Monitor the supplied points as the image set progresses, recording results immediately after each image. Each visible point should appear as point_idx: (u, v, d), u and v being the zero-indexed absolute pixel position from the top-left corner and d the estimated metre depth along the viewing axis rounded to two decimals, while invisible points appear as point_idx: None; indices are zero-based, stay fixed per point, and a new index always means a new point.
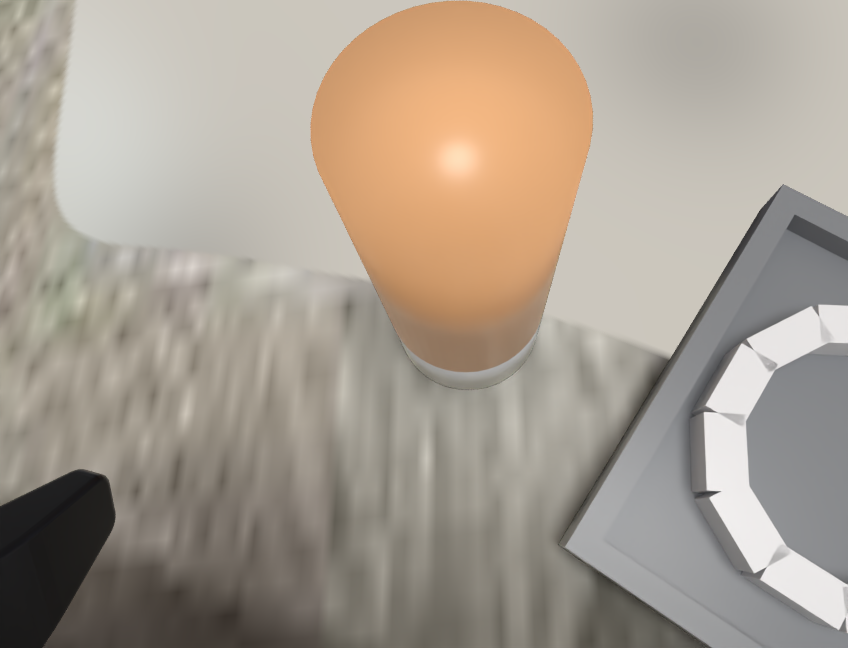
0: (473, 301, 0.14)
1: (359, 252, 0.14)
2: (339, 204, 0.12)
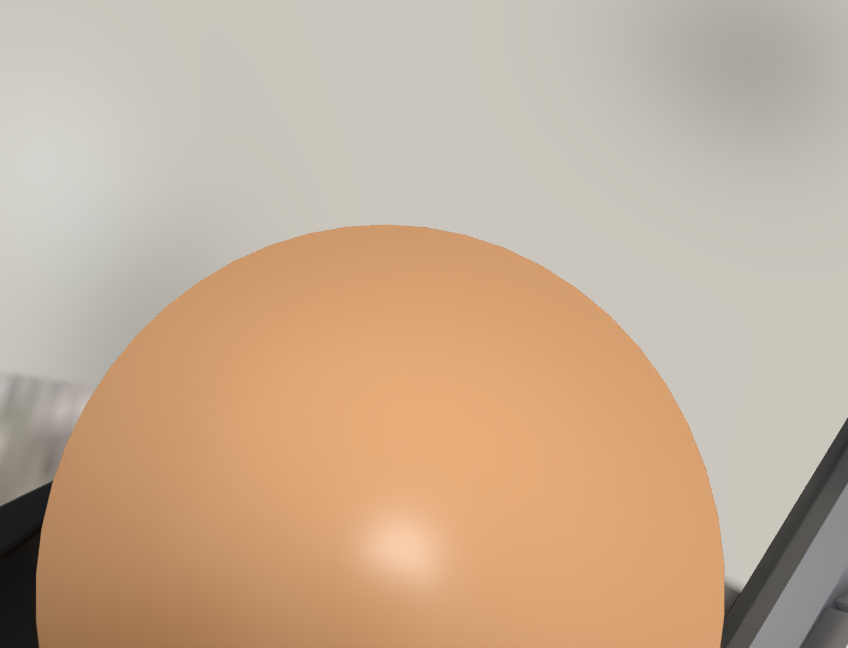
0: None
1: None
2: None
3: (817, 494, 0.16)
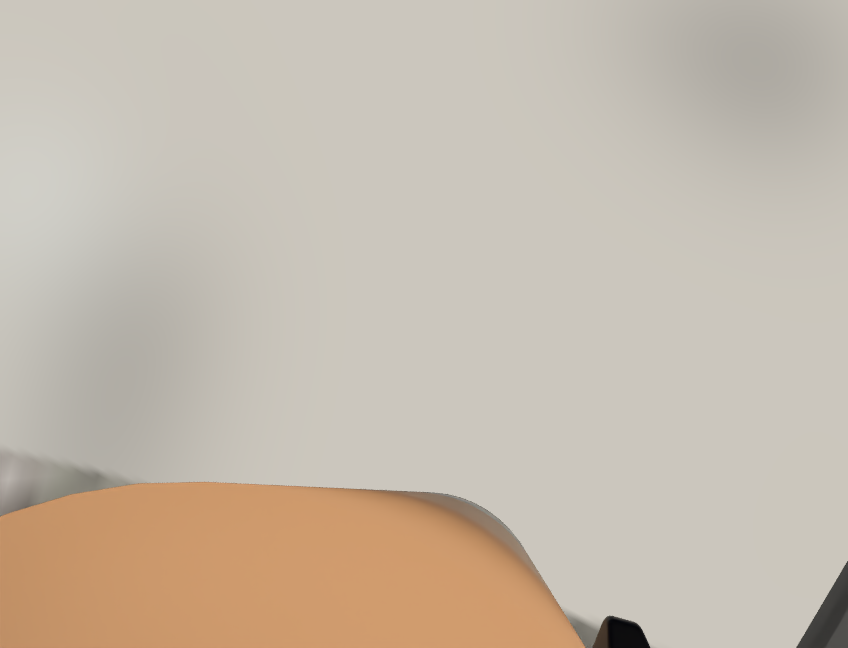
0: None
1: None
2: None
3: None
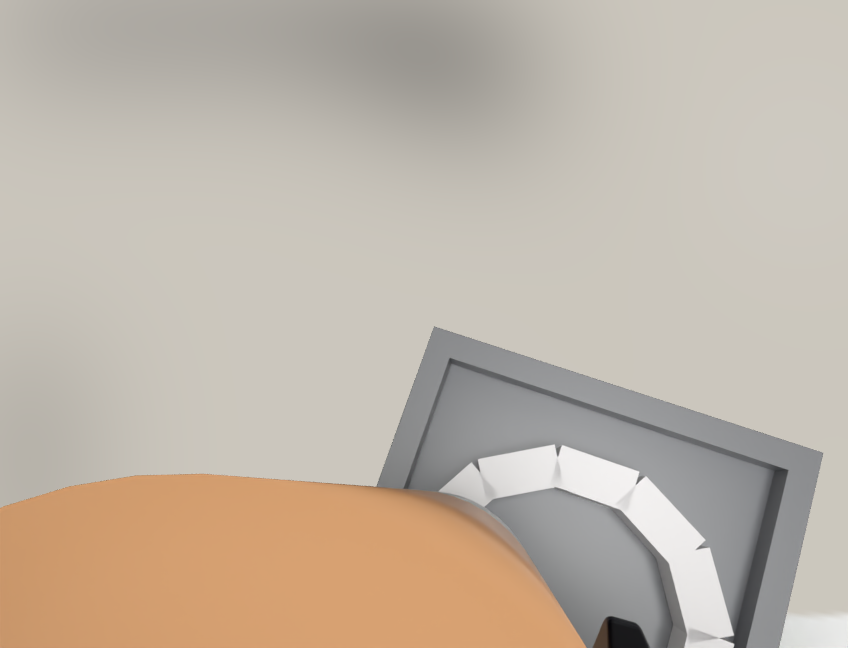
0: None
1: None
2: None
3: None
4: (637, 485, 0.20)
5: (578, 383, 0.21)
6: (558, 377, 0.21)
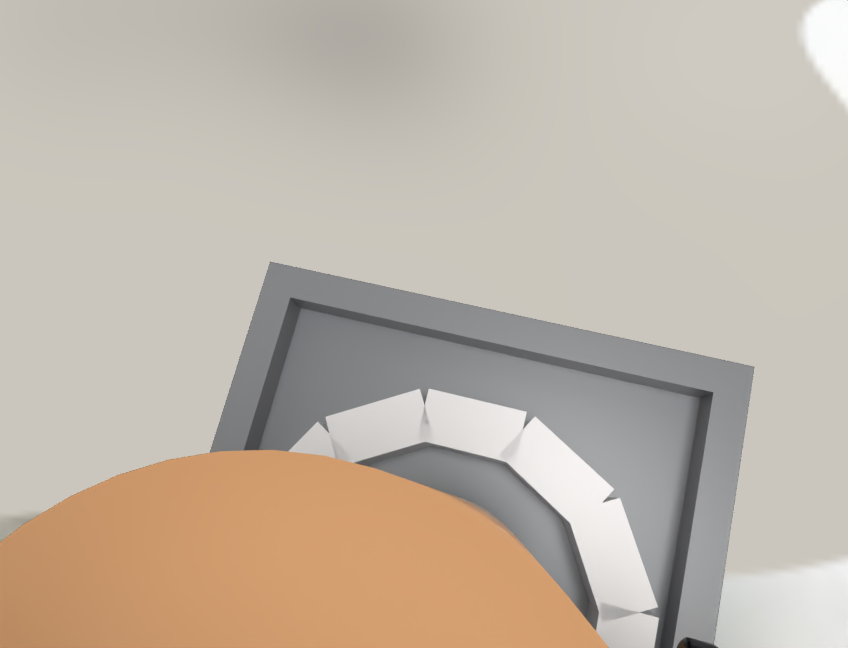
0: None
1: None
2: None
3: None
4: (525, 429, 0.15)
5: (449, 312, 0.17)
6: (424, 307, 0.17)
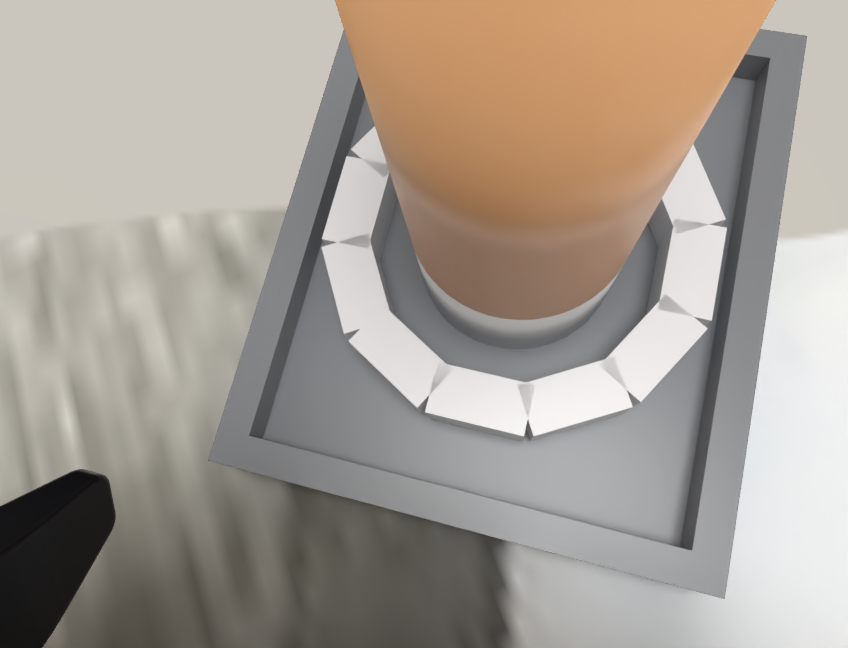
0: (577, 160, 0.07)
1: (364, 63, 0.08)
2: None
3: None
4: None
5: None
6: None
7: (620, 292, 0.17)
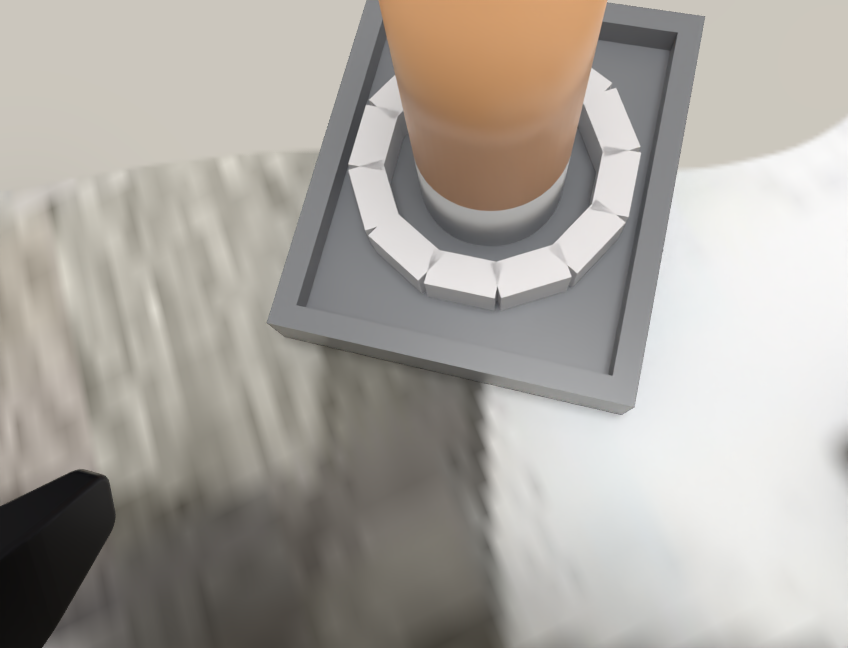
0: (507, 67, 0.14)
1: (390, 15, 0.14)
2: None
3: None
4: None
5: None
6: None
7: (567, 204, 0.23)
